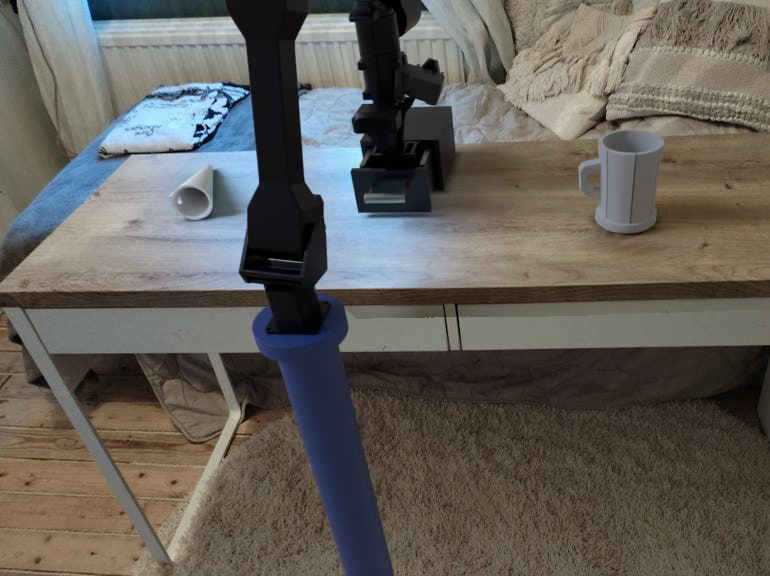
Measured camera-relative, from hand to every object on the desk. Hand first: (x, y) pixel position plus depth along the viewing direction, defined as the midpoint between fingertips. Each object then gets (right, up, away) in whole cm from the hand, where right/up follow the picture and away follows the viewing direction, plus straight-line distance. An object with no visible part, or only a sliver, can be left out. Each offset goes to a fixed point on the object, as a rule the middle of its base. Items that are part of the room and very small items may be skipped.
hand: (395, 156), depth 108 cm
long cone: (-33, -3, +12) cm, 35 cm away
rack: (0, -1, +1) cm, 1 cm away
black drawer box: (+2, +1, +13) cm, 13 cm away
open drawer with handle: (0, -6, +3) cm, 7 cm away
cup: (+33, -11, -5) cm, 36 cm away
